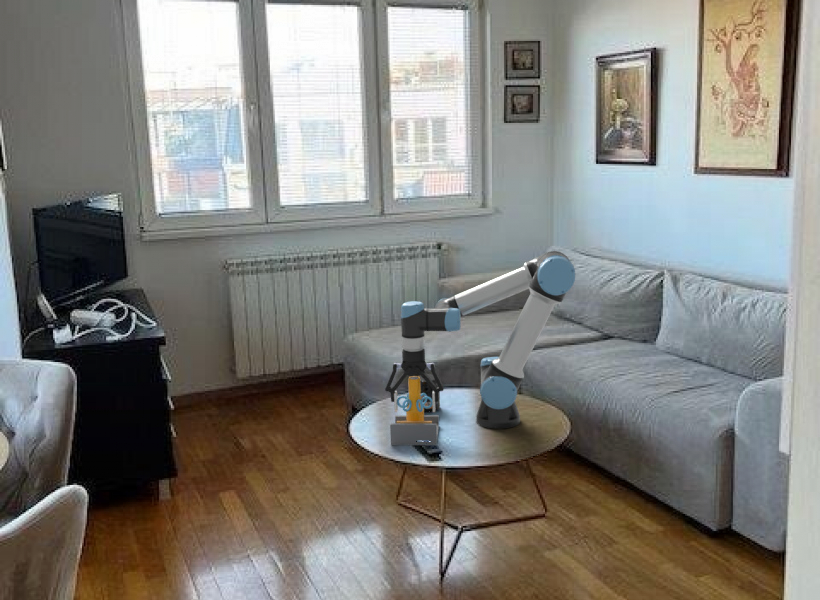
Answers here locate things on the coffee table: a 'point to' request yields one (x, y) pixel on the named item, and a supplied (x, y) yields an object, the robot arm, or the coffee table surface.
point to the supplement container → (429, 393)
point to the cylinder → (414, 401)
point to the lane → (414, 431)
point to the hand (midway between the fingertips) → (415, 410)
